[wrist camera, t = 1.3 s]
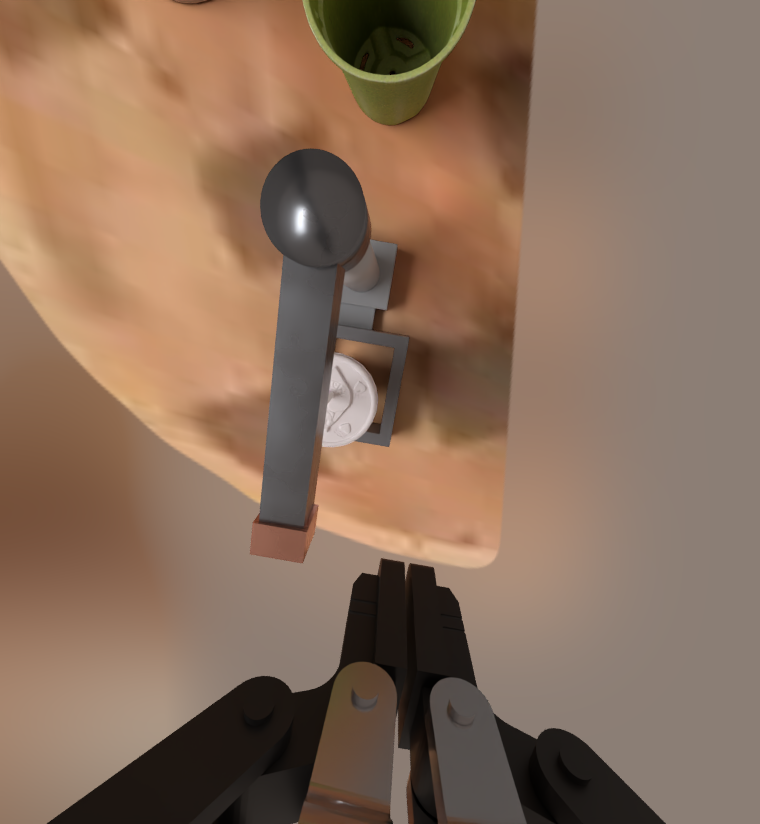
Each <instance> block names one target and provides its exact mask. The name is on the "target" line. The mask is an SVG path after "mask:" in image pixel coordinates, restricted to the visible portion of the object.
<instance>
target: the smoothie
mask: <svg viewBox="0 0 760 824" xmlns="http://www.w3.org/2000/svg"><path fill="white" fill-rule="evenodd" d="M377 405H378V394H377V388H376V385H375V383H374V381H373V378H372V376H371V374H370V373H369V372H368V371H367V370H366V368H365V367H364V366H363V365H362V364H361V363H359V362H358V361H356V360H355V359H354V358H352V357H350V356H347V355H344V354H342V353H336V352H334V358H333V366H332V373H331V381H330V388H329V396H328V403H327V410H326V418H325V425H324V433H323V440H322V446H324V447H339V446H343V445H347V444H349V443H351V442H353V441H355V440H357V439H358V438H359V437H361V436H362V435H363V434H364V433H365V432H366V431H367V429H368V428H369V427H370V425H371V423H372V422H373V419H374V417H375V414H376V412H377Z"/></svg>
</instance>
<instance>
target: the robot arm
mask: <svg viewBox="0 0 760 824" xmlns="http://www.w3.org/2000/svg"><path fill="white" fill-rule="evenodd" d="M174 1H177V2H181V3H198V2H203V1H207V0H174ZM464 631H465V630H464V625H463V621H462V616H461V611H460V607H459V602H458V601H457V600H456V598H455V596H454V595H453V594H452V592H451V591H450V589H449V588H446V587H440V586H437V585H436V578H435V572H434V568H433V567H428V566H423V565H417V564H411V563H410V564H409V567H408V571H407V576H406V580H405V565H404V562H400V561H393V560H388V559H383V558H381V561H380V565H379V570H378V575H371V574H365V573H362V574H361V575H360V576H359V577H358V579H357V580H356V581H355V582H354V584H353V588H352V594H351V600H350V606H349V611H348V617H347V622H346V628H345V635H344V641H343V646H342V652H341V659H340V664H339V668H338V669H337V671H336V673H335V674H334V676H333V677H332V678H331V679H330V680H329V681H328V682H327V683H325V684H324V685H322V686H320V687H318V688H315V689H311V690H307V691H302V692H296V693H292V692H291V690H290V689H289V687H288V686H287V685H286V684H285V683H284V682H283V681H281V680H280V679H277V678H275V677H270V676H260V677H255V678H251V679H249V680H247V681H245V682H243V683H242V684H240V685H239V686H237V687H236V688H234V689H233V690H232V691H230V692H229V693H228V694H226V695H225V696H223V697H222V698H221V699H220V700H218V701H216V702H215V703H214V704H212V705H211V706H209V707H208V708H207V709H205V710H204V711H203V712H201V713H200V714H199V715H197V716H196V717H194V718H193V719H191V720H190V721H189V722H187V723H186V724H184V725H183V726H182V727H180V728H179V729H178V730H176V731H175V732H173V733H172V734H171V735H169V736H168V737H166V738H165V739H164V740H162V741H161V742H160V743H158V744H157V745H155V746H154V747H153V748H152V749H150V750H148V751H147V752H146V753H144V754H143V755H141V756H140V757H139V758H137V759H136V760H134V761H133V762H132V763H130V764H129V765H127V766H126V767H125V768H123V769H122V770H121V771H119V772H118V773H116V774H115V775H114V776H112V777H111V778H109V779H108V780H107V781H105V782H104V783H103V784H101V785H100V786H98V787H97V788H96V789H94V790H93V791H91V792H90V793H89V794H87V795H86V796H84V797H83V798H82V799H80V800H79V801H78V802H76V803H75V804H73V805H72V806H71V807H69V808H68V809H66V810H65V811H64V812H62V813H61V814H60V815H58V816H57V817H55V818H54V819H53V820H51V821H50V822H48V823H47V824H293V823H296V822H298V824H393V821H392V820H391V819H390V802H391V786H392V770H393V754H394V737H395V736H394V735H395V722H396V716H397V711H398V748H402V749H408V750H410V761H411V762H410V765H411V770H410V773H409V777H408V781H407V787H406V798H407V813H408V824H666V823H665V822H663V820H661V819H660V817H659V816H658V815H657V814H656V813H655V812H654V811H653V810H652V809H651V808H650V807H649V806H648V805H647V804H646V803H645V802H644V801H643V800H642V799H641V798H640V797H639V796H638V795H637V794H636V793H635V792H634V791H633V790H632V789H631V788H630V787H629V786H628V785H627V784H626V783H625V782H624V781H623V780H622V779H621V778H620V777H619V776H618V775H617V774H616V773H615V772H614V771H613V770H612V769H611V768H610V767H609V766H608V765H607V764H606V763H605V762H604V761H603V760H602V759H601V758H600V757H599V756H598V755H597V754H596V753H595V752H594V751H593V750H592V749H591V748H590V747H589V746H588V745H587V744H586V743H585V742H583V741H582V740H581V739H579V738H578V737H576V736H575V735H573V734H571V733H569V732H567V731H564V730H561V729H556V728H551V729H547V730H544V731H543V732H542V733H541V734H540V735H539V737H538V739H535V738H533V737H531V736H530V735H528V734H526V733H524V732H522V731H520V730H518V729H516V728H514V727H512V726H510V725H509V724H507V723H505V722H504V721H503V720H501V719H500V718H499V717H497V716H496V715H495V714H494V713H493V711H492V708H491V706H490V704H489V702H488V700H487V699H486V697H485V696H484V695H483V694H482V692H481V691H480V690H478V688H477V685H476V680H475V676H474V671H473V666H472V662H471V658H470V653H469V648H468V643H467V639H466V634H465V633H464Z"/></svg>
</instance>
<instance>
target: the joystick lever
mask: <svg viewBox="0 0 760 824" xmlns="http://www.w3.org/2000/svg"><path fill="white" fill-rule="evenodd" d="M260 209H261V217H262V222H263V225H264V228H265V231H266V233H267V235H268V237H269V239H270V240H271V242H272V243H273V244H274V246H275V247H276V248H277V249H278V250H279V251H280V252H281V253H282V254H283V255H284V256H283V267H282V277H281V288H280V299H279V310H278V321H277V331H276V342H275V353H274V364H273V374H272V385H271V396H270V407H269V418H268V428H267V439H266V450H265V461H264V472H263V482H262V493H261V504H260V513H259V515H258V516H257V518H256V519H255V520H254V522H253V526H252V537H251V548H250V554H252V555H258V556H263V557H269V558H275V559H280V560H286V561H292V562H297V563H303V561H304V559H305V556H306V554H307V551H308V548H309V546H310V543H311V541H312V538H313V535H314V533H315V526H316V519H317V512H318V505H316V504H314V500H315V492H316V485H317V477H318V470H319V463H320V455H321V448H322V440H323V433H324V425H325V418H326V410H327V403H328V396H329V388H330V381H331V373H332V366H333V358H334V351H335V343H336V336H337V329H338V321H339V314H340V306H341V299H342V291H343V284H344V276H345V272H347V271H349V270H351V269H352V268H354V267H355V266H356V265H357V264H358V263H359V262H360V261H361V260H362V258H363V257H364V255H365V253H366V251H367V249H368V246H369V244H370V239H371V222H370V217H369V213H368V210H367V206H366V202H365V198H364V195H363V191H362V188H361V185H360V183H359V180H358V179H357V177H356V175H355V173H354V172H353V171H352V169H351V168H350V167H349V166H348V165H347V164H346V163H345V162H344V161H343V160H341V159H340V158H339V157H337V156H336V155H334V154H332V153H329V152H327V151H324V150H320V149H303V150H298V151H295V152H293V153H290V154H289V155H287V156H285V157H284V158H282V159H281V160H280V161H279V162H278V163H277V164H276V165H275V166H274V167H273V168H272V170H271V171H270V172H269V174H268V176H267V178H266V180H265V183H264V185H263V189H262V193H261V200H260Z"/></svg>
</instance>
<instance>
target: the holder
mask: <svg viewBox="0 0 760 824" xmlns="http://www.w3.org/2000/svg"><path fill="white" fill-rule="evenodd" d="M396 254H397V244H393V243H387V242H381V241H375V240H370V244H369V246H368V249H367V251H366V253H365V255H364V257H363V258H362V260H361V261H360V262H359V263H358V264H357V265H356V266H355V267H354V268H352V269H351V270H349V271H347V272H345V276H344V284H343V291H342V299H341V306H340V314H339V321H338V329H337V336H336V338H341V339H346V340H352V341H358V342H364V343H369V344H375V345H381V346H387V347H392V348H395V349H394V354H393V360H392V366H391V371H390V377H389V383H388V388H387V394H386V400H385V405H384V411H383V417H382V423H381V424H376V423H371V425H370V427H369V428H368V429H367V431H366V432H365V433H364V434H363V435H362V436H361V437H359V438H358V439H357V440H355V441H358V442H363V443H369V444H375V445H381V446H386V447H389V445H390V440H391V434H392V429H393V424H394V418H395V413H396V407H397V402H398V397H399V391H400V386H401V380H402V375H403V370H404V364H405V359H406V353H407V348H408V342H409V336H406V335H400V334H394V333H388V332H383V331H377V330H372V329H373V323H374V317H375V310H376V309H380V310H386V311H387V308H388V302H389V296H390V290H391V284H392V278H393V272H394V266H395V260H396Z"/></svg>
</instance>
